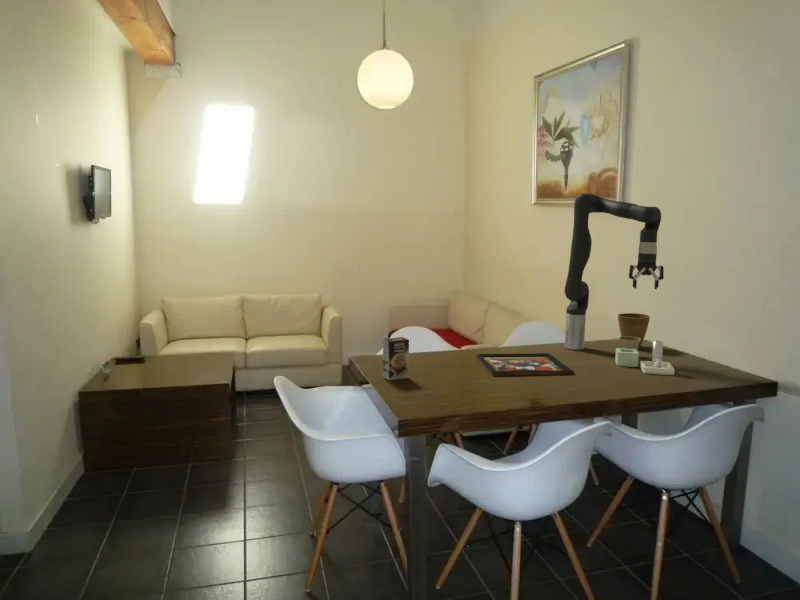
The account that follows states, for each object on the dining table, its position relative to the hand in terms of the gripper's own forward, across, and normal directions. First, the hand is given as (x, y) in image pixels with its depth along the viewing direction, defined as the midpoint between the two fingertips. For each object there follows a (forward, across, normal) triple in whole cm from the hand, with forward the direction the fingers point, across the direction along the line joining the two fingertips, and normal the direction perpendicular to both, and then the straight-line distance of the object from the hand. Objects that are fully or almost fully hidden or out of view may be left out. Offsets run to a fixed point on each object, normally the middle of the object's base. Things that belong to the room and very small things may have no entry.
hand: (645, 288), depth 277 cm
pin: (+32, -4, +16) cm, 36 cm away
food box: (+33, +102, +52) cm, 119 cm away
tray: (+33, -4, +16) cm, 37 cm away
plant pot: (+33, 0, -29) cm, 44 cm away
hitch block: (+33, +7, +7) cm, 35 cm away
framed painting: (+34, +52, +21) cm, 66 cm away
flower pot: (+33, +4, -8) cm, 34 cm away
